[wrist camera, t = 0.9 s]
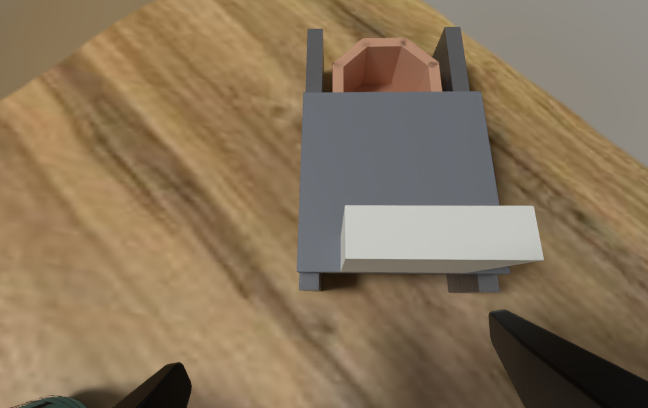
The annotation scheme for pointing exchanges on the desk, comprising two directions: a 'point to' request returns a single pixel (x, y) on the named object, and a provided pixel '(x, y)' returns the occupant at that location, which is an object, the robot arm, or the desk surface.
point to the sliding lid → (404, 188)
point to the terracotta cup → (386, 68)
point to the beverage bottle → (54, 403)
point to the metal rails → (451, 80)
